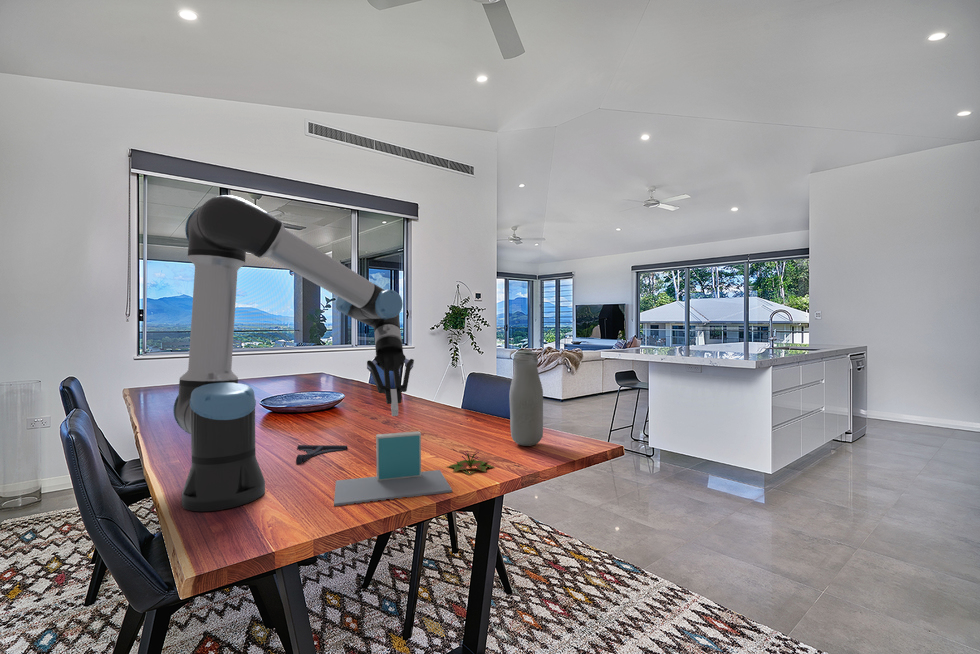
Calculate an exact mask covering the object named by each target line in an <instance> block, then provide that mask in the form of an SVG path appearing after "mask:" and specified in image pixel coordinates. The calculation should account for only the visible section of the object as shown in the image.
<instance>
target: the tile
mask: <svg viewBox="0 0 980 654" xmlns="http://www.w3.org/2000/svg"><path fill="white" fill-rule="evenodd" d="M375 436H376V437H375V441H376V443H375V444H376V445H375V448H376V449H375V450H376V453H375V455H376V456H375V457H376V458H375V459H376V476H377V481H381V480H390V479H400V478H409V477H419V476H421V472H422V439H421V438H422V433H421V432H420V431H405V432H403V431H402V432H395V433H394V432H393V433H379V434H378V433H377V434H376V435H375Z"/></svg>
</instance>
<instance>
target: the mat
mask: <svg viewBox="0 0 980 654" xmlns="http://www.w3.org/2000/svg"><path fill="white" fill-rule="evenodd" d="M334 487H335V489H334V498H333V506H334V507H337V506H338V507H339V506H346V504H348V505H353V504H354V503H356V504H362V502H365V503H371V502H370V501H373V502H379V501H378V500H381V501H387V500H386V499H390V500H395V499H394V498H398V499H403V498H402V497H407V498H414V496H415V497H423V496H422V495H424V496H430V495H439V494H448V493H452V492H453V489H452V487H451V485H450V484H449V483H448V481H447V479H446V477H445V476H444V474H443V472H442V471H441V469H435V470H426V471H425V470H424V471H421V476H419V477H409V478H400V479H390V480H381V481H377V475H376V476H369V477H368V476H367V477H359V478H349V479H337V480H335V486H334ZM354 505H355V504H354Z"/></svg>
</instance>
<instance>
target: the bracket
mask: <svg viewBox="0 0 980 654" xmlns="http://www.w3.org/2000/svg"><path fill="white" fill-rule="evenodd" d="M348 448H349V446H348V445H344V444H343V445H339V444H338V445H337V444H336V445H334V444H333V445H332V444H331V445H329V444H328V445H326V444H324V445H323V444H299V445H297V448H296V450H298V449H299V450H298V451H301V450H304V451H303V452H305V451H306V452H305V453H306V454H297V456H296V460H295V464H297V465H302V464H303V463H304V461H305V462H306V461H308V460H310V459H311V458H313V457H315V456H319V455H323V454H327V452H328V453H333V452H334V453H335V452H341V451H346V450H348ZM313 449H315V450H313ZM322 450H323V451H322ZM322 453H323V454H322ZM312 456H313V457H312ZM310 457H311V458H310ZM309 458H310V459H309ZM307 459H308V460H307ZM302 462H303V463H302ZM301 463H302V464H301Z"/></svg>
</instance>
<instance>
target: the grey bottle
mask: <svg viewBox="0 0 980 654" xmlns="http://www.w3.org/2000/svg"><path fill="white" fill-rule="evenodd" d="M512 361H513V375H512V378H511V382H510V385H509V387H510V388H509V396H508V397H509V398H508V400H509V418H510V419H509V420H510V422H509V425H510V427H509V428H510V436H511V439H512V440H513V442H514V443H515V444H517V445H519V446H523V447H524V446H525V447H532V446H535V445H538V444H539V442H541V440H542V438H543V437H544V390H543V384H542V381H541V378H540V374H539V369H538V364H539V360H538V353H536V352H535V351H532V350H530V349H529V350H526V349H525V350H524V349H523V350H518V351H516V352H515V353H514V354H513V360H512Z"/></svg>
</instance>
